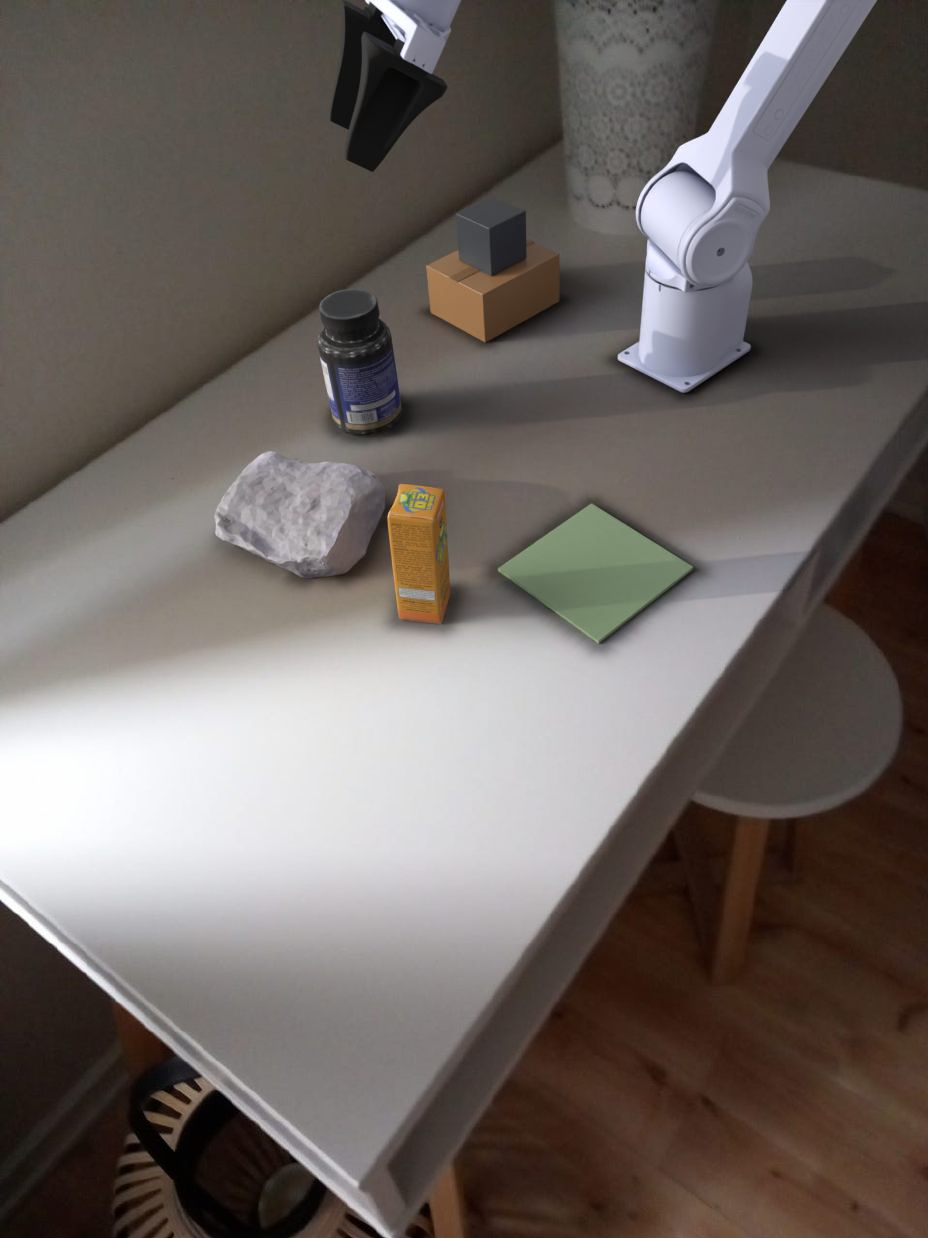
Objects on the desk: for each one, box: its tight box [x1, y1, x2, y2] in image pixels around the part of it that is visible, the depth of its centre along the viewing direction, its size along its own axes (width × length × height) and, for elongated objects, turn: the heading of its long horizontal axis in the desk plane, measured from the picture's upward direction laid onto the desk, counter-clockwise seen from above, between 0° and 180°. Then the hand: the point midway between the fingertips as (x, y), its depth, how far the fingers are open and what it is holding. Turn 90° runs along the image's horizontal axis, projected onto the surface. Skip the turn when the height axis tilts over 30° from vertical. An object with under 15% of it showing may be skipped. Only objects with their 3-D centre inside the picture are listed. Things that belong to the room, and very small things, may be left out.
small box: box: [455, 195, 527, 276], centre depth 91 cm, size 5×5×5 cm
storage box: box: [425, 237, 561, 343], centre depth 94 cm, size 10×8×5 cm
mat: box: [497, 502, 694, 644], centre depth 71 cm, size 10×10×1 cm
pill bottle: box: [316, 288, 402, 437], centre depth 81 cm, size 6×6×11 cm
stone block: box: [213, 450, 386, 579], centre depth 75 cm, size 12×5×10 cm
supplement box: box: [387, 483, 451, 624], centre depth 66 cm, size 3×3×10 cm
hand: (350, 144), depth 66 cm, fingers open, 7 cm apart
